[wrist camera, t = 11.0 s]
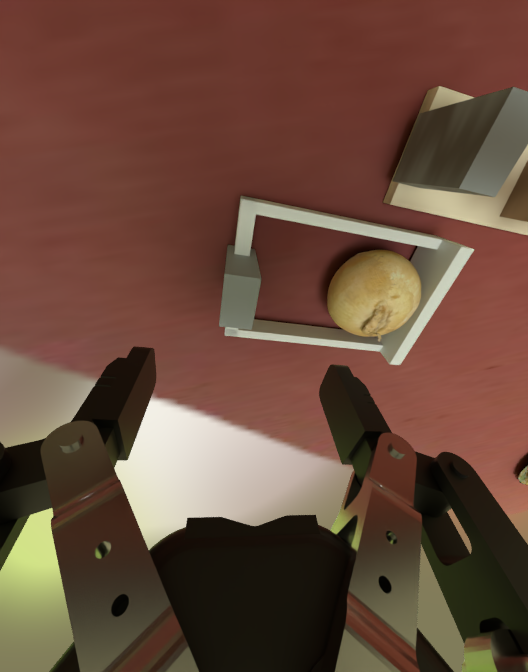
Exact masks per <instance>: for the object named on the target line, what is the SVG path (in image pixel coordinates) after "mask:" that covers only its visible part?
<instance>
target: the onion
mask: <svg viewBox="0 0 528 672" xmlns="http://www.w3.org/2000/svg"><path fill="white" fill-rule="evenodd" d="M420 299H421V280H420V277H419V274H418V272H417V270H416V269H415V267H414V266H413V265H412V263H411V262H410V261H408V260H407V259H406V258H405V257H403V256H402V255H400V254H397V253H395V252H393V251H389V250H373V251H368V252H362V253H358V254H357V255H355V256H354V257H352V258H350V259H349V260H348V261H347V262H345V263H344V264H343V265H342V266H341V267H340V268H339V269H338V270H337V272H336V273H335V275H334V276H333V278H332V280H331V283H330V285H329V289H328V295H327V308H328V311H329V314H330V316H331V318H332V319H333V320H334V322H335V323H336V324H337V325H338V326H339V327H341V328H342V329H344V330H345V331H347V332H349V333H352V334H355V335H358V336H365V337H371V336H373V337H374V336H378V341H379V342H380V341H381V340H380V339H382V338H381V335H384V334H387V333H390V332H393V331H395V330H396V329H398V328H400V327H401V326H402V325H404V324H405V323H406V322H407V321H408V320H409V318H410V317H411V316H412V315H413V313H414V312H415V310H416V309H417V307H418V306H419V303H420Z"/></svg>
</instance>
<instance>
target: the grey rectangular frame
mask: <svg viewBox="0 0 528 672" xmlns="http://www.w3.org/2000/svg"><path fill="white" fill-rule="evenodd" d="M256 214H257V215H262V216H267V217H272V218H277V219H283V220H288V221H293V222H298V223H303V224H308V225H313V226H318V227H324V228H329V229H334V230H339V231H344V232H349V233H354V234H360V235H365V236H370V237H375V238H380V239H385V240H390V241H396V242H401V243H406V244H411V245H416V246H418V247H417V249H416V251H415V253H414V255H413V257H412V259H411V261H410V262H411V263H412V265H413V266H414V267H415V269H416V270H417V272H418V274H419V277H420V280H421V299H420V303H419V306H418V307H417V309H416V310H415V312H414V313H413V315H412V316H411V317H410V318H409V320H408V321H407V322H406V323H405V324H404V325H402V326H401V327H400V328H398V329H396V330H395V331H393V332H390V333H387V334H384V335H381V338H382V339H380V340H381V341H380V342H379V341H378V336H374V337H373V336H371V337H365V336H358V335H355V334H352V333H349V332H347V331H345V330H342V329H334V328H325V327H317V326H308V325H299V324H291V323H282V322H274V321H265V320H257V319H254V315H255V310H256V305H257V300H258V295H259V289H260V284H261V274H260V270H259V265H258V261H257V256H256V252H255V249H251V243H252V236H253V230H254V223H255V217H256ZM473 251H474V249H472V248H469V247H467V246H464V245H461V244H458V243H455V242H452V241H450V240H447V239H444V238H441V237H438V236H435V235H430V234H425V233H420V232H416V231H411V230H406V229H401V228H396V227H391V226H387V225H382V224H377V223H372V222H367V221H362V220H357V219H353V218H348V217H343V216H338V215H333V214H328V213H324V212H319V211H314V210H309V209H304V208H299V207H294V206H290V205H285V204H280V203H275V202H270V201H265V200H261V199H256V198H251V197H246V196H241V197H240V205H239V214H238V222H237V230H236V239H235V246H233V245H228V247H227V256H226V265H225V274H224V283H223V293H222V303H221V312H220V322H219V326H221V327H225V336H235V337H244V338H254V339H264V340H274V341H283V342H293V343H303V344H313V345H322V346H332V347H342V348H351V349H361V350H371V351H380V352H381V354H382V355H383V356H384V357H385V359H386V360H387V361H388V363H389V364H394V365H400V364H401V363H402V361H403V360H404V358H405V357H406V355H407V353H408V352H409V350H410V349H411V347H412V346H413V344H414V343H415V341H416V339H417V338H418V336H419V335H420V333H421V332H422V330H423V329H424V327H425V325H426V324H427V322H428V321H429V319H430V318H431V316H432V315H433V313H434V312H435V310H436V308H437V307H438V305H439V304H440V302H441V301H442V299H443V298H444V296H445V294H446V293H447V291H448V290H449V288H450V287H451V285H452V284H453V282H454V280H455V279H456V277H457V276H458V274H459V273H460V271H461V270H462V268H463V266H464V265H465V263H466V262H467V260H468V259H469V257H470V256H471V254H472V252H473Z"/></svg>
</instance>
